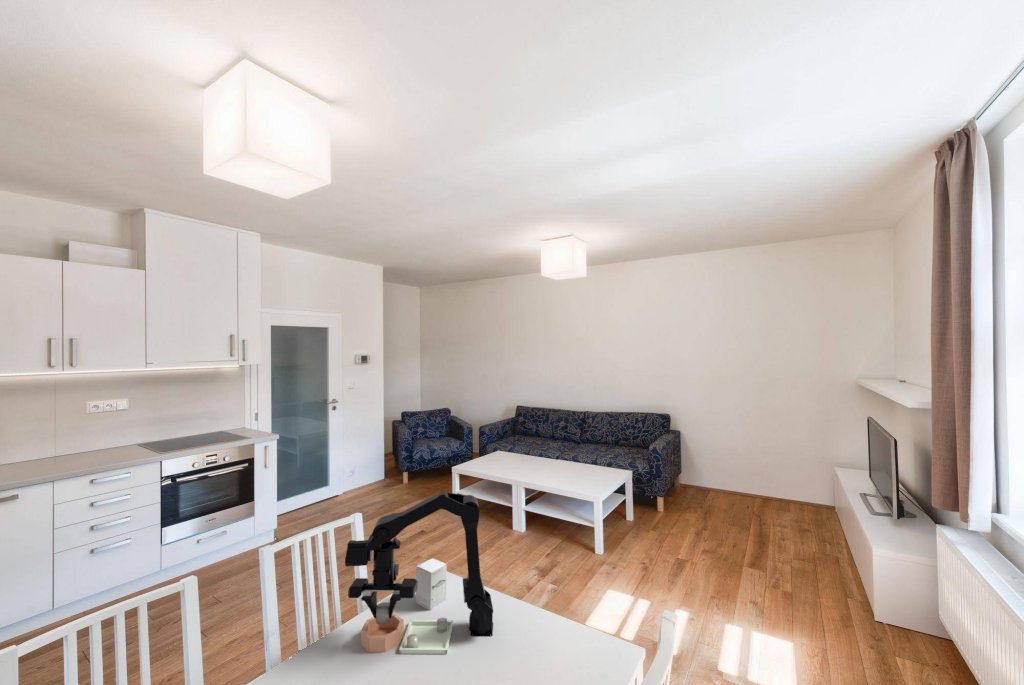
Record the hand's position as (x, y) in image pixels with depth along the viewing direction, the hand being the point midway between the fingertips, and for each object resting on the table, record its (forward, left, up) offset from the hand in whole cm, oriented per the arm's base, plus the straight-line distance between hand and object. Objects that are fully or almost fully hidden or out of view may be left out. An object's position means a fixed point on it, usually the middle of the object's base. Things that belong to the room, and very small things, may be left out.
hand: (383, 617), depth 124 cm
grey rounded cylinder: (0, 0, -1) cm, 1 cm away
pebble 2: (-16, -4, -6) cm, 18 cm away
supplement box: (-10, -18, -7) cm, 22 cm away
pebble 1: (-9, +4, -6) cm, 12 cm away
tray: (-13, 0, -6) cm, 14 cm away
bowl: (0, 0, -6) cm, 7 cm away
